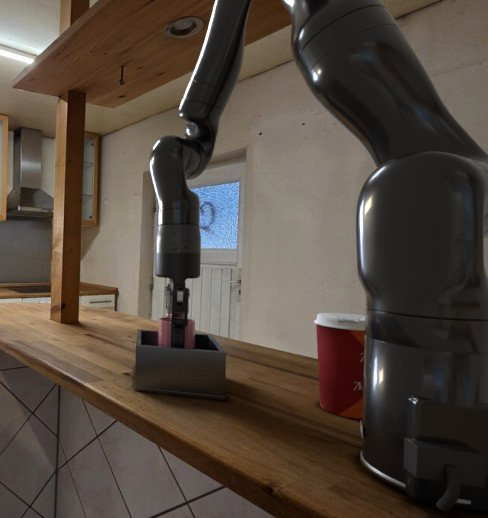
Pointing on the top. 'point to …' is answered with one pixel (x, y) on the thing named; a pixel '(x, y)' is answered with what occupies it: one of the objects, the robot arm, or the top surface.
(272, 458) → the top surface
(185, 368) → the grey storage bin
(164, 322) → the pink cup
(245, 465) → the top surface
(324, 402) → the paper cup
